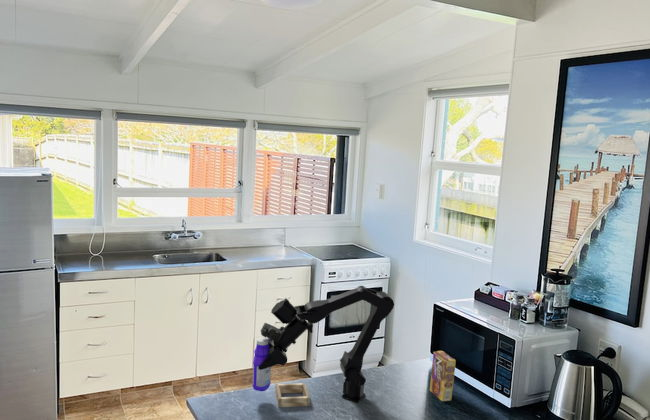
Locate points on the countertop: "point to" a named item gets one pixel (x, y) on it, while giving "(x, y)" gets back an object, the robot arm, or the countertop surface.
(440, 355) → the candy box
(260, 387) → the bottle
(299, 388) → the wooden square frame
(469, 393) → the countertop surface
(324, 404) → the countertop surface
